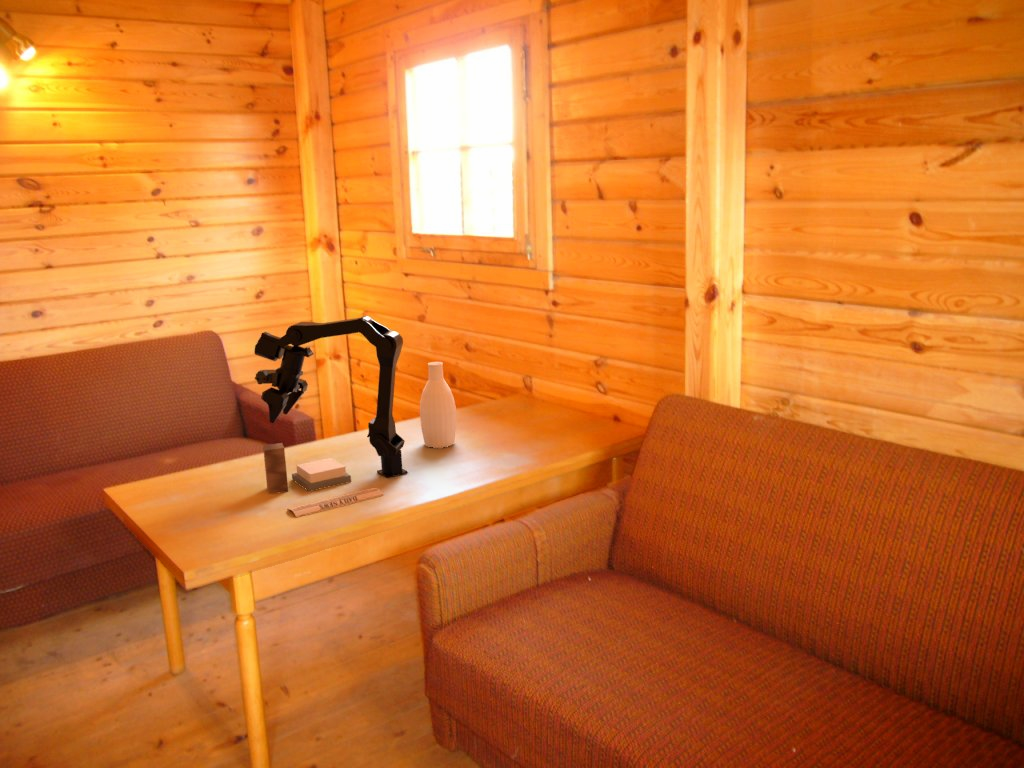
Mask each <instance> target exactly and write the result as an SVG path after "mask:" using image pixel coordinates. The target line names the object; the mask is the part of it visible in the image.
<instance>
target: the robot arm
mask: <svg viewBox="0 0 1024 768" xmlns="http://www.w3.org/2000/svg"><path fill="white" fill-rule="evenodd" d="M358 333H359V334H361V336H362V335H363V337H364V338H365V339H366V340H367V342H368V343H370V344H371V345H372V346H374V347H375V349H376V350H375V351H376V353H375V354H376V358H377V361H378V365H379V371H378V372H379V373H378V388H377V403H376V416H375V417H373V418H372V420H370V421H369V422H368V424H367V425H368V434H367V438H368V439H369V444H370V445H371V446H372V447H373V448H374V450H375V451H376V454H377V456H378V457H380V465H381V466H380V467H381V469H377V470H376V472H377V474H379V475H381V476H383V477H385V478H388V479H389V478H393V477H396V476H400V475H405V474H408V473H409V472H408V470H406V469H405V468H403V457H402V455H403V454H402V450H401V449H403V447H404V444H405V439H403V438H402V437H401V436H400V434H398V433H397V431H396V422H395V419H394V416H393V411H394V410H393V409H394V395H395V382H396V369H397V365H398V361H399V358H400V355H401V352H402V350H403V349H402V348H403V344H404V339H403V336H402V335H401V334H400V333H399V332H398V331H394V330H390V329H389V328H388V327H387V326H384V325H383V324H381V323H379V322H377V321H375V320H374V319H372V318H371V316H368V315H363V316H361V317H356V318H349V319H342V320H336V321H335V320H334V321H328V322H315V321H300V322H297V323H295V324H292V325H290V326H289V327H288V328H287V329H286V331H285V334H284V335H283V336H280V337H279V336H278V335H277V336H276V335H273V334H271V333H269V332H267V331H264V332H262V333H261V334H260V337H259V339H258V340H257V342H256V344H255V346H254V352H253V353H254V355H256V356H258V357H261V358H263V359H266V360H268V361H273V362H276V361H278V360H281V362H280V366H279V367H277V368H276V369H261V370H258V371H257V372H256V373H255V377H254V380H255V381H256V382H257V384H258V385H265V384H271V387H269V388H268V389H266V390H264V391H262V392H261V397H260V399H261V400H262V401H263V402H264V403H266V405H267V406H268V415H269V423H271V424H274V423H275V422H276V421H277V419H278V418H279V416H280V415H281V414H283V415H288V413H290V411H291V410H292V409H293V407H294V406H295V405H296V404H297V403H298V401H299V400H300V398H302V396H303V395H304V393H305V392H306V391H307V390H308V385H309V384H308V382H307V380H305V379H303V378H300V377H301V376H303V374H304V371H303V370H302V368H303V366H304V361H305V358H310V357H311V356H313V355H314V352H313V350H312V349H311V347H310V346H309V345H308V346H306V347H303V346H302V345H305V344H309V343H311V342H314V341H316V340H319V339H324V338H329V337H330V338H331V337H338V336H344V335H350V334H358Z"/></svg>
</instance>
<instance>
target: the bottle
mask: <svg viewBox="0 0 1024 768" xmlns="http://www.w3.org/2000/svg"><path fill="white" fill-rule="evenodd" d="M443 364H444V363H443V362H442V361H432V362H428V363H427V366H428V369H427V370H428V373H427V374H428V380H427V381H426V384H425V386H424V388H423V389H422V393H421V396H420V399H419V400H420V401H419V416H420V417H419V418H420V427H421V433H422V438H423V443H424V445H425V446H426V447H427V446H428V447H427V448H429V447H433V448H432V449H437V448H438V449H444V448H443V447H447V446H450V445H452V444H453V445H454V443H455V441H456V440H455V439H456V433H457V432H456V430H457V407H456V402H455V399H454V398H455V397H454V395H453V392H452V389H451V388H450V386H449V385H448V383H447V382H446V380H445V379H444V368H443V367H444V366H443ZM453 445H452V446H453ZM450 447H451V446H450ZM447 448H448V447H447Z"/></svg>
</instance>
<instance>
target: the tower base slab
mask: <svg viewBox="0 0 1024 768" xmlns="http://www.w3.org/2000/svg"><path fill="white" fill-rule="evenodd" d="M291 479H293V480H294V481H296V482H297V483H298V485H299V484H300V485H301V486H300V485H299V486H300V487H302V486H303V487H304V489H305V488H306V489H307V490H306V489H305V490H306V491H307V492H309V491H310V492H312V491H311V490H314V491H317V490H316V489H318V490H320V489H319V488H323V489H325V488H324V487H327V488H329V487H328V486H331V487H334V486H333V485H335V486H339V485H338V484H340V485H342V484H341V483H344V484H347V483H346V482H348V483H351V482H352V477H351V475H350V474H349V473H347V472H346V476H341V477H337V478H332V479H328V480H323V481H319V482H314V483H310V482H308V481H307V480H306V479H304V478H303V477H301V476H300V475H298V474H297V472H295V473H294V472H293V473H291ZM293 480H292V481H293ZM294 481H293V482H294ZM296 482H295V483H296ZM297 483H296V484H297ZM303 487H302V488H303Z"/></svg>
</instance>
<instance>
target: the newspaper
mask: <svg viewBox="0 0 1024 768" xmlns="http://www.w3.org/2000/svg"><path fill="white" fill-rule="evenodd" d="M382 495H383V496H384V494H383V492H382V491H381V489H379V488H376V487H371V488H368V489H364V490H359V491H356V492H355V491H354V492H351V493H347V494H343V495H339V496H335V497H334V496H333V497H331V498H327V499H323V500H319V501H315V502H310V503H307V504H303V505H299V506H294V507H291V508H287V509H286V511H287V510H291V512H292V513H293V514H294V515H295V518H298V517H297V516H300V517H302V516H301V515H304V516H306V515H305V514H308V515H310V514H309V513H312V514H315V513H314V512H316V513H320V512H322V511H323V510H324V511H327V510H326V509H328V510H332V509H335V508H334V507H336V508H338V507H337V506H340V507H343V506H342V505H344V506H347V505H346V504H348V505H351V504H350V503H352V504H355V502H356V503H359V501H360V502H363V500H364V501H367V499H368V500H371V499H370V498H372V499H375V498H374V497H376V498H379V497H378V496H380V497H383V496H382ZM331 508H332V509H331ZM319 511H320V512H319ZM324 511H323V512H324Z"/></svg>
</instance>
